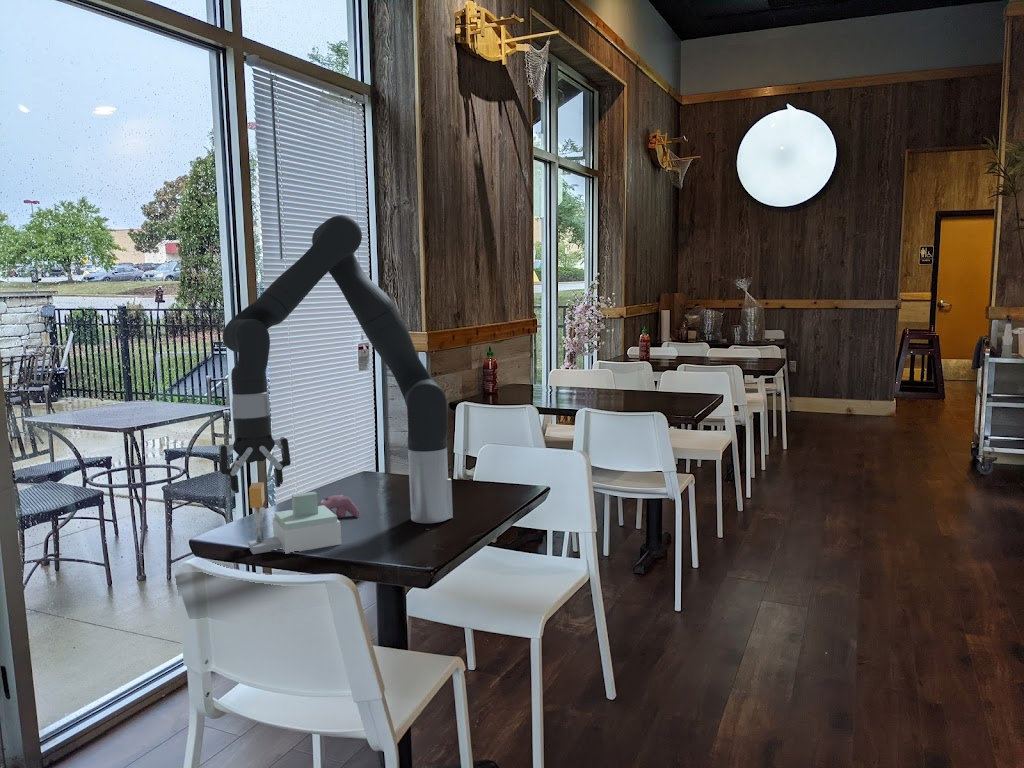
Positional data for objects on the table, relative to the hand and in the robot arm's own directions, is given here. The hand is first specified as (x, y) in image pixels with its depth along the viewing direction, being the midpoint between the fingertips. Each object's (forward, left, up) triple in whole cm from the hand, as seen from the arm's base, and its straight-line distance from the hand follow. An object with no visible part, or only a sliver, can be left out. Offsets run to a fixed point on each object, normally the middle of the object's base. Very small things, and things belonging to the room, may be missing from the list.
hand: (257, 489), depth 171 cm
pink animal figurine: (-21, -14, -14) cm, 28 cm away
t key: (0, -2, -11) cm, 12 cm away
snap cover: (-10, 0, -8) cm, 13 cm away
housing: (-7, 0, -13) cm, 15 cm away
